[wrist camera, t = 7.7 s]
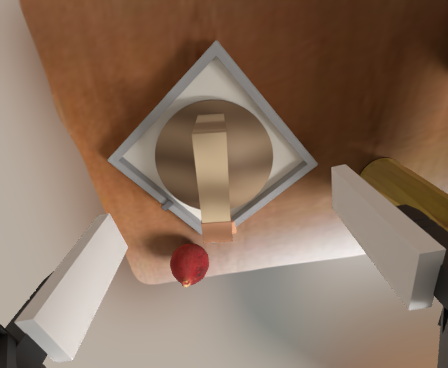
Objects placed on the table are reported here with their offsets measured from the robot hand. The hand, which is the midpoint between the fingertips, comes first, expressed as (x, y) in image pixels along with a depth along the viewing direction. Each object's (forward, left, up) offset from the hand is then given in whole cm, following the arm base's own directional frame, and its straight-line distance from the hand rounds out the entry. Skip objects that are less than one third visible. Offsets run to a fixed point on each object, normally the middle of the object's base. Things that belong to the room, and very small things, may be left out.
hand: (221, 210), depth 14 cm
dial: (+3, +2, -18) cm, 18 cm away
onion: (+17, +11, -19) cm, 28 cm away
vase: (-12, +21, -19) cm, 31 cm away
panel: (+3, +2, -19) cm, 19 cm away
